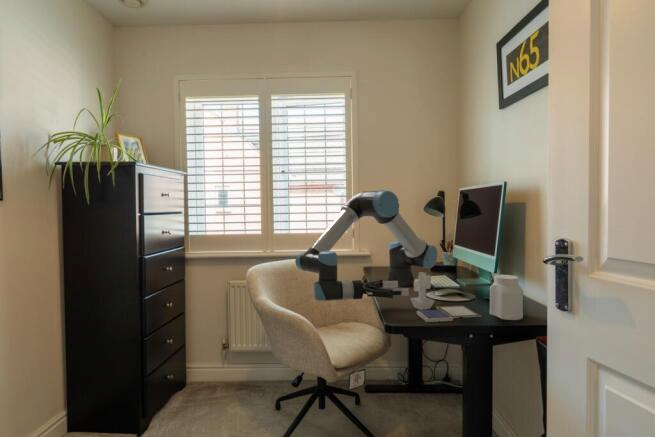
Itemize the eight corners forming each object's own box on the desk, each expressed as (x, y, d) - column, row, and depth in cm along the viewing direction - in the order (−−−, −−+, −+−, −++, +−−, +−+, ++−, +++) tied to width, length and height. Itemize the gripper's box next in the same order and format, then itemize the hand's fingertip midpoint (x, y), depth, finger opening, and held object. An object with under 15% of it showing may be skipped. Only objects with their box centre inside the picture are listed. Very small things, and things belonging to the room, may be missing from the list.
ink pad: (416, 313, 141) (416, 310, 140) (441, 312, 142) (441, 308, 142) (426, 322, 131) (426, 318, 131) (452, 320, 132) (452, 316, 132)
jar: (484, 312, 142) (485, 274, 141) (504, 309, 144) (504, 273, 144) (507, 321, 131) (507, 280, 130) (528, 318, 133) (528, 278, 133)
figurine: (422, 304, 154) (422, 269, 153) (436, 310, 145) (436, 273, 144) (408, 306, 151) (408, 271, 150) (422, 312, 142) (422, 275, 142)
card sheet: (436, 307, 149) (436, 306, 149) (463, 306, 150) (463, 305, 150) (451, 318, 135) (451, 316, 135) (481, 316, 136) (481, 315, 136)
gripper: (346, 291, 157) (393, 289, 159) (358, 308, 132) (413, 305, 134) (346, 274, 156) (393, 273, 159) (358, 287, 132) (413, 285, 134)
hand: (403, 287), depth 147 cm, fingers open, 13 cm apart
